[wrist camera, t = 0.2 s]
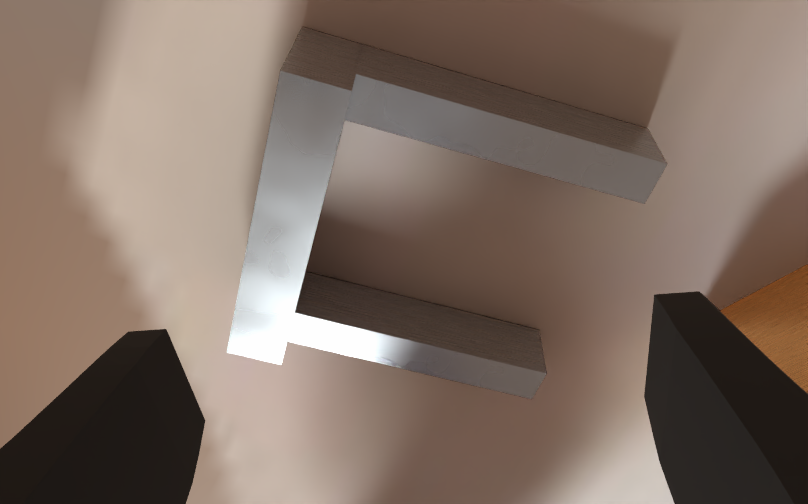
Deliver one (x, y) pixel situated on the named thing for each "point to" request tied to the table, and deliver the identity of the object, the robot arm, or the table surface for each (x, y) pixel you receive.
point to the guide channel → (431, 123)
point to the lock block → (778, 323)
